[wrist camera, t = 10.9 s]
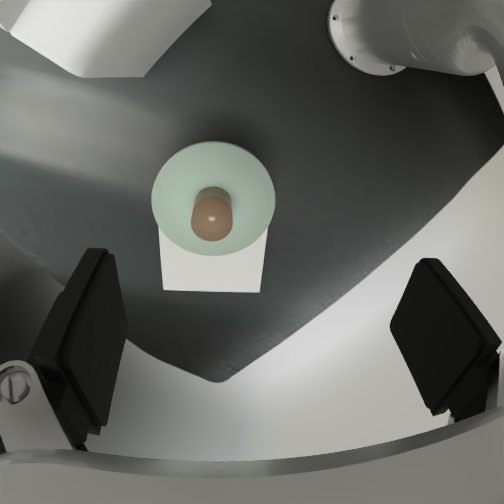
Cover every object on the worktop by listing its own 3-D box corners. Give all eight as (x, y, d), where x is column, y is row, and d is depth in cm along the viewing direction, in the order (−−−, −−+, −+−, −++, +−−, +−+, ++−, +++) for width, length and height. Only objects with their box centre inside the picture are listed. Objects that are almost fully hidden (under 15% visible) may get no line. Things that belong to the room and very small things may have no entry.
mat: (270, 203, 43) (270, 204, 43) (259, 290, 51) (259, 292, 51) (157, 199, 42) (157, 200, 41) (164, 287, 50) (163, 289, 49)
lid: (280, 144, 29) (290, 159, 25) (267, 252, 36) (273, 280, 31) (151, 140, 28) (138, 154, 24) (157, 249, 34) (148, 277, 30)
